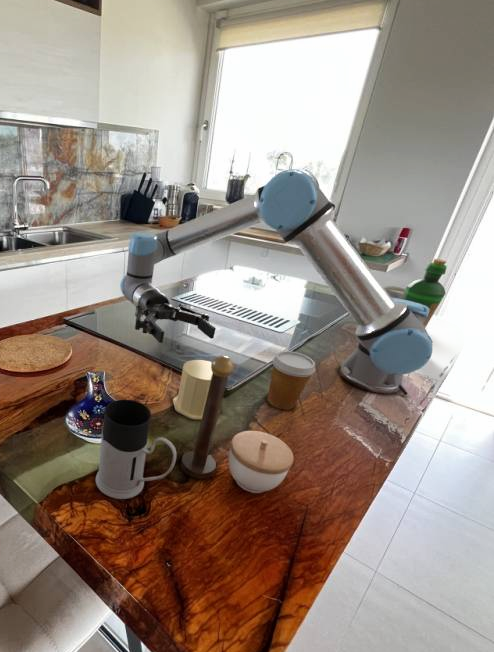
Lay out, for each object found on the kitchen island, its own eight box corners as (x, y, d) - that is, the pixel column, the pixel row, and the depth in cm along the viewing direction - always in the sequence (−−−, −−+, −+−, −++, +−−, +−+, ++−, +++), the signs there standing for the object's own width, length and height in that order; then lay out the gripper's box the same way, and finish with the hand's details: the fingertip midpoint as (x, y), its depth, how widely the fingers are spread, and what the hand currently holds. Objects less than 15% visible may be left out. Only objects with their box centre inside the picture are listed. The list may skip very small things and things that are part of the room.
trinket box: (272, 512, 71) (289, 471, 66) (214, 485, 75) (225, 445, 70) (286, 476, 79) (302, 438, 74) (233, 454, 83) (244, 416, 78)
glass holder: (116, 457, 79) (124, 391, 72) (178, 496, 72) (194, 427, 64) (85, 480, 73) (89, 411, 66) (149, 525, 66) (162, 454, 58)
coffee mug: (394, 319, 162) (406, 295, 156) (369, 311, 168) (379, 287, 163) (407, 313, 169) (418, 290, 164) (382, 305, 176) (392, 282, 170)
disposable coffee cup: (303, 416, 97) (321, 372, 91) (262, 409, 98) (276, 365, 92) (297, 396, 105) (312, 354, 99) (259, 389, 106) (272, 347, 100)
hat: (226, 408, 97) (236, 371, 92) (202, 425, 91) (211, 386, 85) (190, 389, 103) (197, 354, 98) (165, 405, 96) (171, 367, 91)
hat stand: (220, 468, 79) (252, 358, 67) (202, 484, 75) (232, 370, 63) (193, 451, 83) (217, 344, 70) (174, 466, 79) (197, 355, 66)
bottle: (424, 351, 137) (469, 266, 123) (393, 348, 137) (434, 263, 122) (406, 337, 146) (445, 257, 132) (376, 335, 146) (413, 254, 131)
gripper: (188, 313, 119) (229, 345, 102) (107, 317, 111) (137, 354, 94) (193, 287, 115) (236, 317, 99) (109, 290, 107) (141, 323, 90)
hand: (188, 335), depth 96 cm, fingers open, 13 cm apart
